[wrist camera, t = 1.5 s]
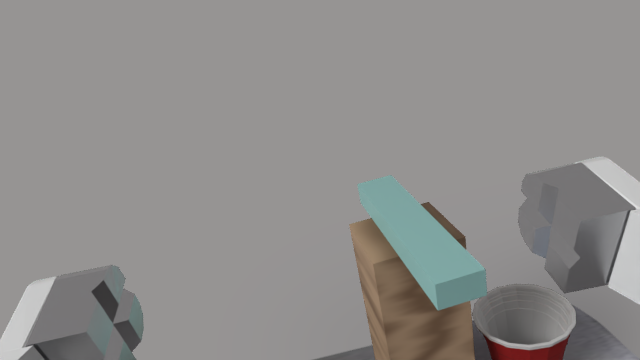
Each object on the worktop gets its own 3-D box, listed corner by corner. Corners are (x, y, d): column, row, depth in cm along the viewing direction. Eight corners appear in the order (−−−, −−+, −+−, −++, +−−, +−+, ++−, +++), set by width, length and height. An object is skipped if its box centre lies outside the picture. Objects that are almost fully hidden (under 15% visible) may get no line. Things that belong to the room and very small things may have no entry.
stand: (401, 466, 51) (365, 273, 40) (373, 395, 60) (338, 222, 50) (493, 434, 52) (480, 239, 42) (451, 369, 61) (433, 196, 51)
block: (437, 310, 34) (435, 284, 34) (360, 203, 53) (357, 184, 52) (486, 295, 35) (485, 269, 34) (393, 193, 53) (391, 175, 52)
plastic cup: (493, 343, 64) (489, 272, 59) (581, 370, 57) (585, 292, 53) (464, 403, 56) (457, 327, 52) (563, 441, 50) (565, 359, 45)
